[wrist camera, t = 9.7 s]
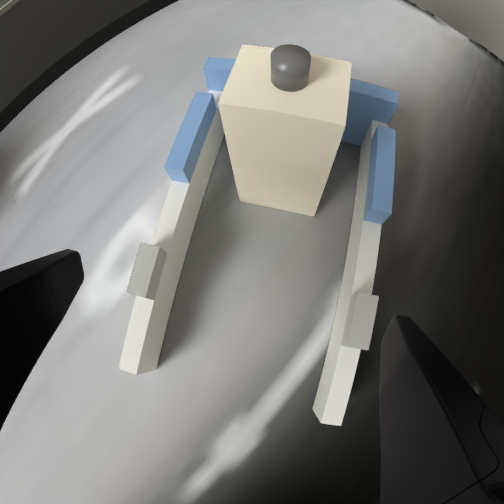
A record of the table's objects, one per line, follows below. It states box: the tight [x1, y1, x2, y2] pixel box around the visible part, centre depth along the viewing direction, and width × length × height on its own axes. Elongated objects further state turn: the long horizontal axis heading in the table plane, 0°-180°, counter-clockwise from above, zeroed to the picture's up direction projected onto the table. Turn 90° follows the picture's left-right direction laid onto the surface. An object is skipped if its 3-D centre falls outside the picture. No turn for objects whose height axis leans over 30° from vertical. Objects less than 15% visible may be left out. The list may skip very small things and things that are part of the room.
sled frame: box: [119, 57, 398, 426], centre depth 16 cm, size 18×11×5 cm, turn 166°
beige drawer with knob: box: [218, 45, 352, 217], centre depth 15 cm, size 4×4×10 cm
